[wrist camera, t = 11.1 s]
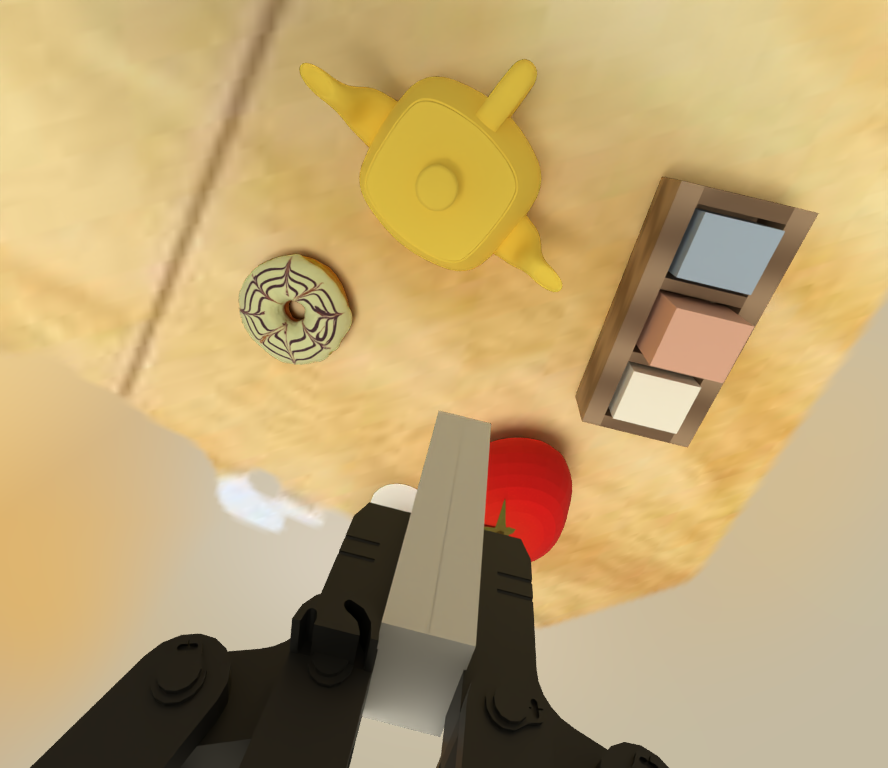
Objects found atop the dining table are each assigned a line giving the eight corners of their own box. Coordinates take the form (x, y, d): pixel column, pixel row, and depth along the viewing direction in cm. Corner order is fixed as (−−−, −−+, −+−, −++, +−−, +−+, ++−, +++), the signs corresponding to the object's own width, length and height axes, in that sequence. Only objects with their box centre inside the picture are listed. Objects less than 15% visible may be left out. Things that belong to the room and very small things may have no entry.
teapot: (627, 173, 38) (666, 182, 29) (501, 312, 45) (499, 357, 35) (414, -31, 34) (377, -100, 25) (310, 155, 41) (249, 157, 31)
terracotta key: (657, 289, 39) (676, 307, 34) (726, 306, 39) (754, 326, 34) (634, 341, 41) (649, 365, 36) (699, 357, 41) (722, 383, 36)
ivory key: (621, 348, 44) (633, 371, 39) (681, 363, 44) (701, 387, 39) (602, 392, 46) (612, 418, 42) (660, 406, 46) (676, 434, 42)
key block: (661, 176, 38) (681, 180, 34) (782, 205, 38) (818, 213, 33) (575, 396, 48) (582, 421, 43) (671, 419, 48) (687, 447, 43)
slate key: (682, 204, 38) (705, 212, 33) (752, 221, 38) (785, 231, 33) (657, 262, 40) (676, 277, 36) (724, 278, 40) (750, 295, 36)
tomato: (594, 469, 52) (614, 547, 41) (500, 527, 57) (498, 609, 47) (520, 394, 49) (523, 459, 38) (429, 463, 54) (410, 536, 44)
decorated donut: (376, 310, 47) (366, 323, 43) (309, 371, 51) (295, 387, 47) (298, 228, 44) (281, 235, 41) (234, 300, 48) (213, 311, 45)
